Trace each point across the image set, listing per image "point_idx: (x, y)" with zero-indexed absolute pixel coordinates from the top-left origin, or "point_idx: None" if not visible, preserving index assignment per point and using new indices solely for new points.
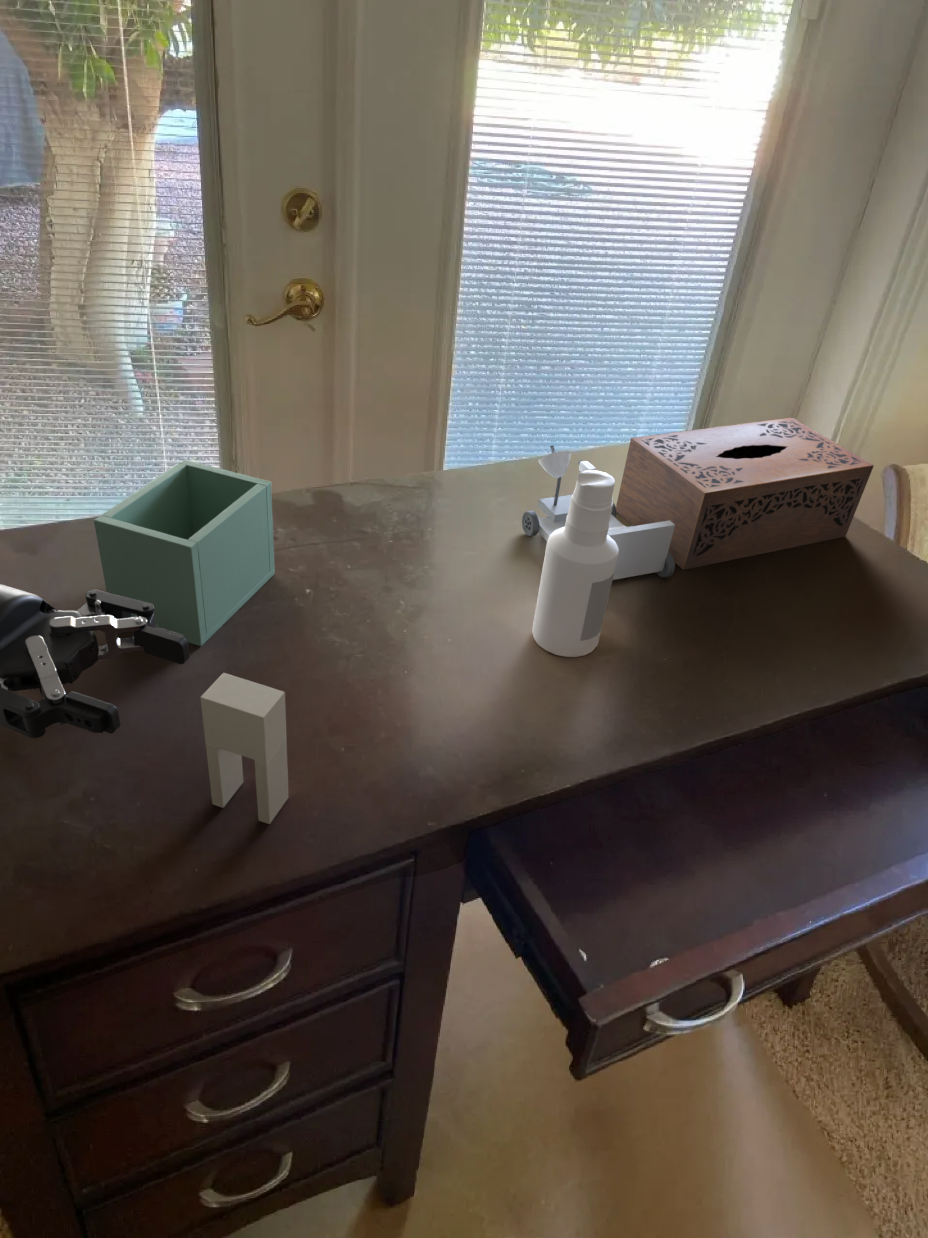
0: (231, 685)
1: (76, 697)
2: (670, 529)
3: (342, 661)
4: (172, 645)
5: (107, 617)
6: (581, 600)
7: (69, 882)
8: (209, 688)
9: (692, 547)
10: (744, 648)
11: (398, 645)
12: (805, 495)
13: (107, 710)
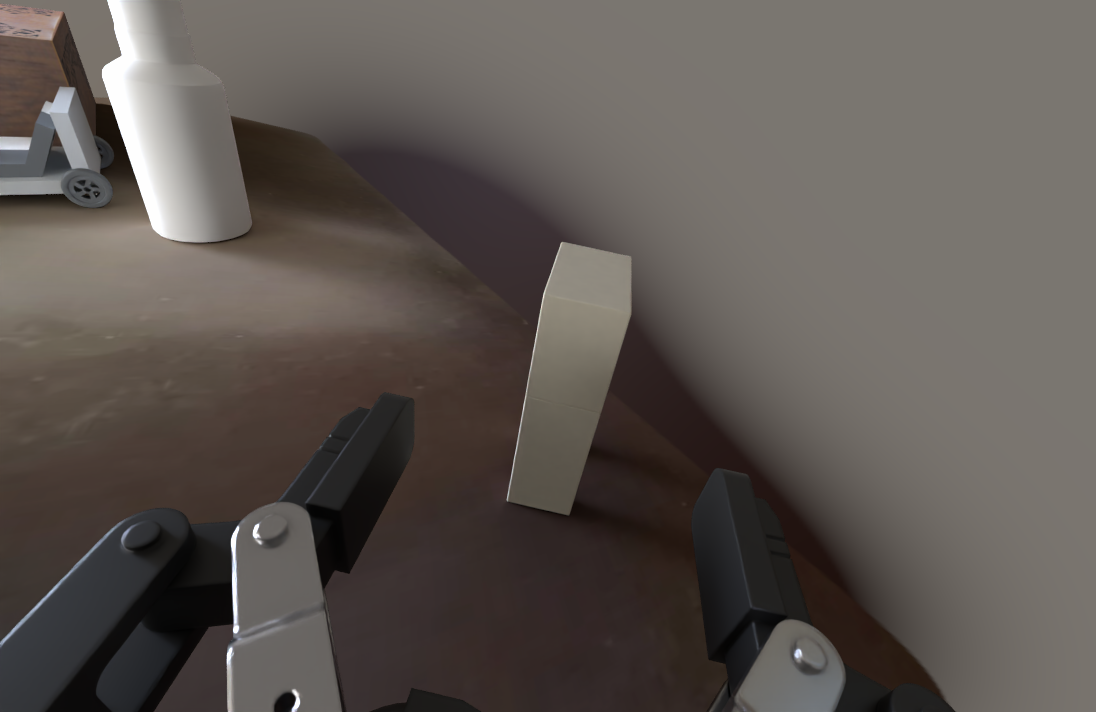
0: (577, 283)
1: (764, 577)
2: (77, 95)
3: (179, 403)
4: (398, 430)
5: (260, 648)
6: (233, 143)
7: None
8: (599, 305)
9: None
10: (264, 166)
11: (155, 343)
12: (70, 49)
13: (744, 476)
